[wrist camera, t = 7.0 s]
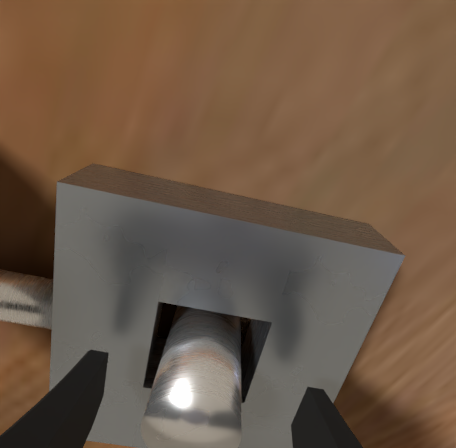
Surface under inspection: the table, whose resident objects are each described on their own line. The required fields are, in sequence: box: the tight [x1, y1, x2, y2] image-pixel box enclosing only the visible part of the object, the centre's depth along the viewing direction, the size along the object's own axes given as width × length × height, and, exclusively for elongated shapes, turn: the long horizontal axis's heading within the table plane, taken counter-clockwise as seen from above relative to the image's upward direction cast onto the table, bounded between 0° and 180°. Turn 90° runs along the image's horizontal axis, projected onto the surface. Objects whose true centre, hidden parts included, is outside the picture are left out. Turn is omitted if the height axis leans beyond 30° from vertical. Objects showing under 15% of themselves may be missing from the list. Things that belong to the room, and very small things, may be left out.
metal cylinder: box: [141, 305, 242, 448], centre depth 13 cm, size 3×3×6 cm
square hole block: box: [0, 164, 405, 448], centre depth 14 cm, size 20×12×3 cm, turn 77°
